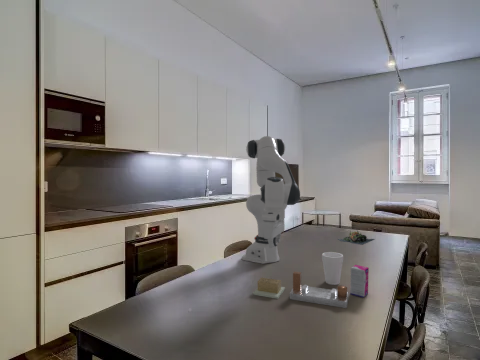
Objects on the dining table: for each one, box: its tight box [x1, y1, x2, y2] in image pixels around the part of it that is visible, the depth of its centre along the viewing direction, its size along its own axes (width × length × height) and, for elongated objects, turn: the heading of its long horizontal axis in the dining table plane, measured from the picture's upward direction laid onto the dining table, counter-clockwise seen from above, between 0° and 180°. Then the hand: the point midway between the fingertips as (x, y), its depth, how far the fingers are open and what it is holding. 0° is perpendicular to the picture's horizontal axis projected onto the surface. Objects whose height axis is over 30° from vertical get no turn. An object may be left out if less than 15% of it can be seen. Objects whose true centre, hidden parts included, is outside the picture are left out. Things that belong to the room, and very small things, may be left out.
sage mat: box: [252, 286, 286, 300], centre depth 129 cm, size 11×11×1 cm
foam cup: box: [321, 251, 344, 286], centre depth 140 cm, size 10×9×13 cm
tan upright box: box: [257, 277, 282, 294], centre depth 129 cm, size 9×5×4 cm, turn 66°
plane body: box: [289, 271, 349, 309], centre depth 122 cm, size 22×10×10 cm, turn 66°
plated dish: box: [337, 230, 376, 246], centre depth 230 cm, size 35×28×7 cm
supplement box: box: [349, 264, 370, 298], centre depth 126 cm, size 6×6×12 cm
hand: (274, 244), depth 132 cm, fingers open, 8 cm apart
